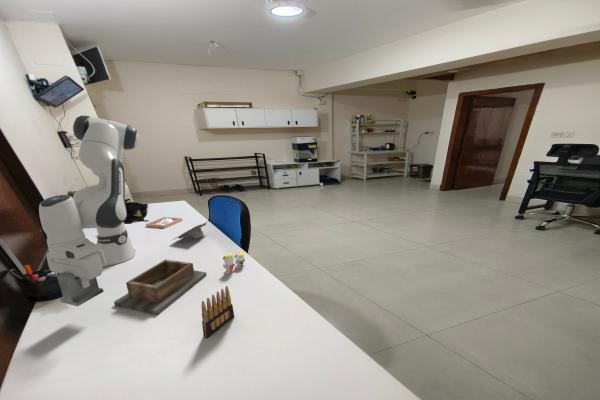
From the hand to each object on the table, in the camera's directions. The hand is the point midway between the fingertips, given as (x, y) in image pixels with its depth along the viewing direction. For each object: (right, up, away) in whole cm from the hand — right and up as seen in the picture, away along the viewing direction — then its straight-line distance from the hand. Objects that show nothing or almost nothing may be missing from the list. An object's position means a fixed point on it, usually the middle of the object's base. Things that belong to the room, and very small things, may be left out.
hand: (79, 285), depth 83 cm
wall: (+8, +5, +69) cm, 70 cm away
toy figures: (+43, -3, +32) cm, 53 cm away
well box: (+18, -7, +18) cm, 27 cm away
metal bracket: (0, -4, +1) cm, 4 cm away
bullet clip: (+47, -12, -3) cm, 49 cm away
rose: (-23, +10, +97) cm, 101 cm away
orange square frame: (-25, +11, +99) cm, 102 cm away
